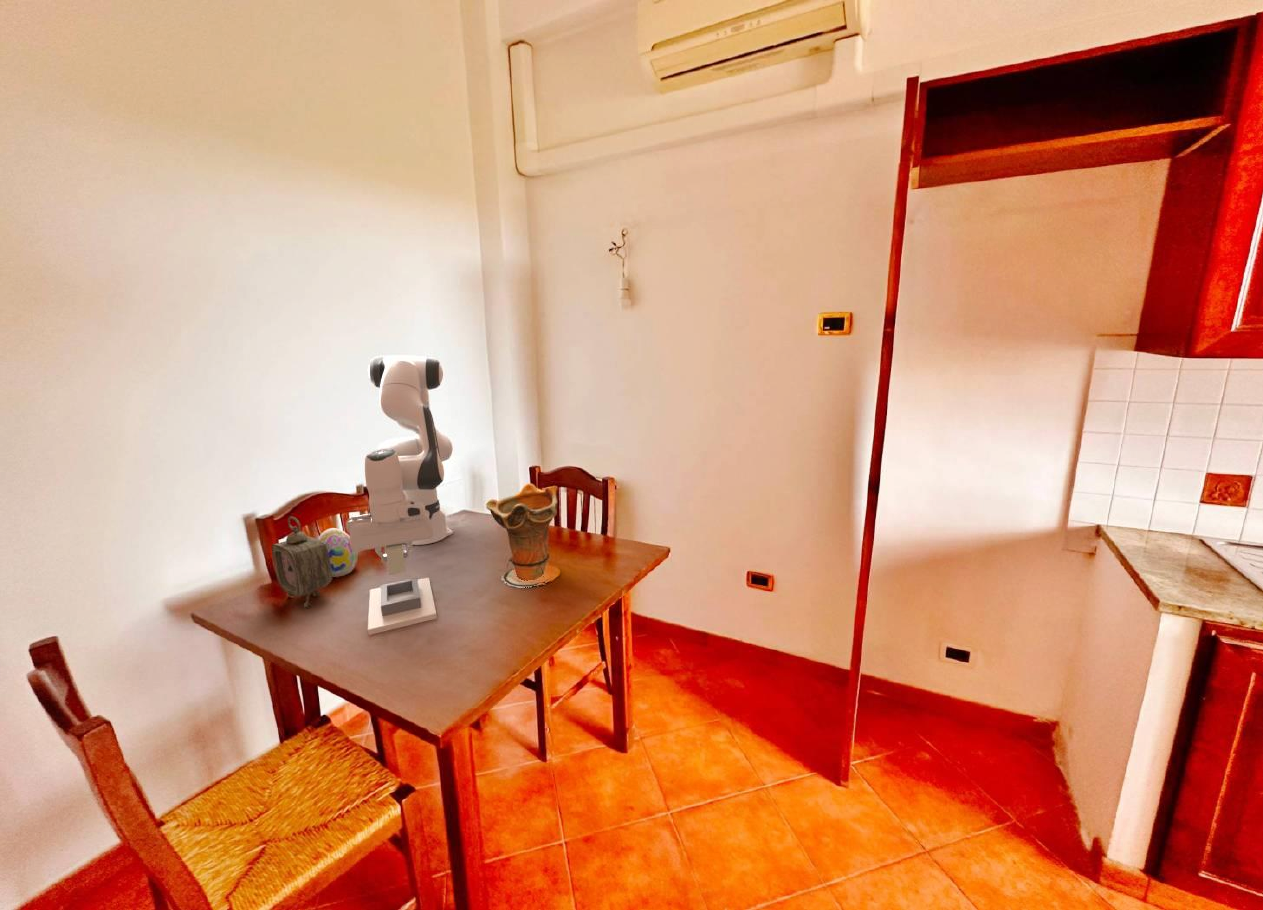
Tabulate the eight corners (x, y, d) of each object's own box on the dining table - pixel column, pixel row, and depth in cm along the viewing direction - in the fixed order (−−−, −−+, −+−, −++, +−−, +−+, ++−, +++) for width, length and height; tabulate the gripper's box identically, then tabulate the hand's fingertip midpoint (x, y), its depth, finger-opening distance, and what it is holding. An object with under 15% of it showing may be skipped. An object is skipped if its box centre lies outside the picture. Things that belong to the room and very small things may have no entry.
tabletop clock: (280, 599, 144) (264, 517, 139) (314, 586, 152) (299, 508, 146) (304, 612, 136) (288, 526, 131) (338, 598, 144) (324, 516, 138)
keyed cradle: (370, 594, 145) (368, 580, 144) (429, 581, 152) (427, 568, 151) (368, 635, 124) (365, 618, 123) (436, 618, 131) (434, 602, 130)
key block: (389, 575, 131) (385, 550, 130) (388, 564, 138) (385, 540, 137) (405, 572, 133) (402, 547, 132) (404, 561, 140) (401, 538, 139)
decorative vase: (478, 588, 146) (472, 495, 141) (518, 560, 168) (514, 479, 163) (543, 597, 140) (538, 500, 135) (575, 566, 161) (573, 482, 157)
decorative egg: (317, 585, 152) (309, 539, 149) (314, 571, 162) (306, 528, 159) (362, 573, 159) (355, 529, 156) (356, 561, 169) (350, 519, 166)
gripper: (343, 521, 125) (351, 572, 128) (430, 507, 134) (436, 555, 137) (345, 514, 131) (353, 563, 133) (428, 501, 139) (434, 548, 142)
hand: (396, 559), depth 135 cm, fingers closed on key block, 4 cm apart
